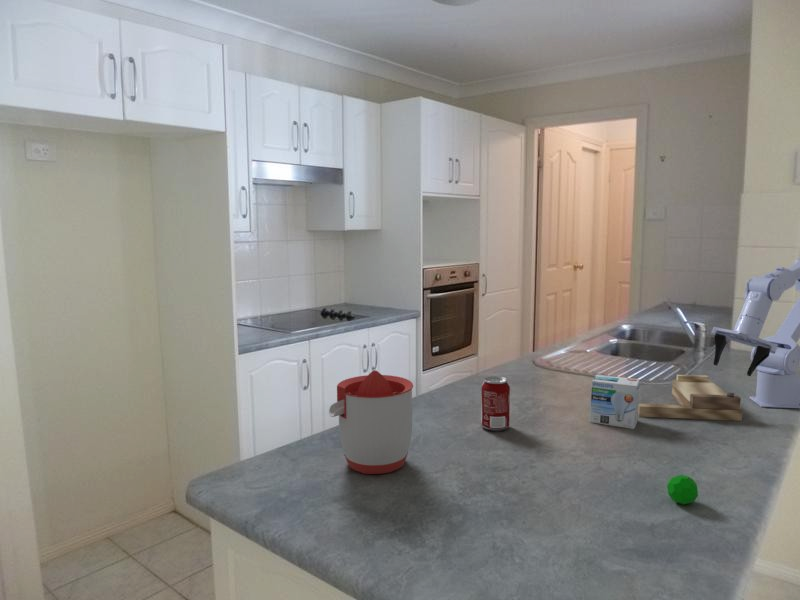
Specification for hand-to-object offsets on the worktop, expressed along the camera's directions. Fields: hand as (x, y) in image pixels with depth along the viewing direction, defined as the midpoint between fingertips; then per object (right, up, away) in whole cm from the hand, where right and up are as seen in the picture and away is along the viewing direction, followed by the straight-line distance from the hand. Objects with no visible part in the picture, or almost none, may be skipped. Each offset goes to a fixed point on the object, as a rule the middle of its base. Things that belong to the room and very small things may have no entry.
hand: (731, 369), depth 146 cm
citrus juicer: (-89, -17, -25) cm, 94 cm away
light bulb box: (-30, -13, -1) cm, 33 cm away
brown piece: (-9, -11, +10) cm, 17 cm away
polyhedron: (-33, -19, -42) cm, 57 cm away
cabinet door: (-4, -10, 0) cm, 10 cm away
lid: (-3, -8, +10) cm, 13 cm away
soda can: (-60, -14, -4) cm, 62 cm away
